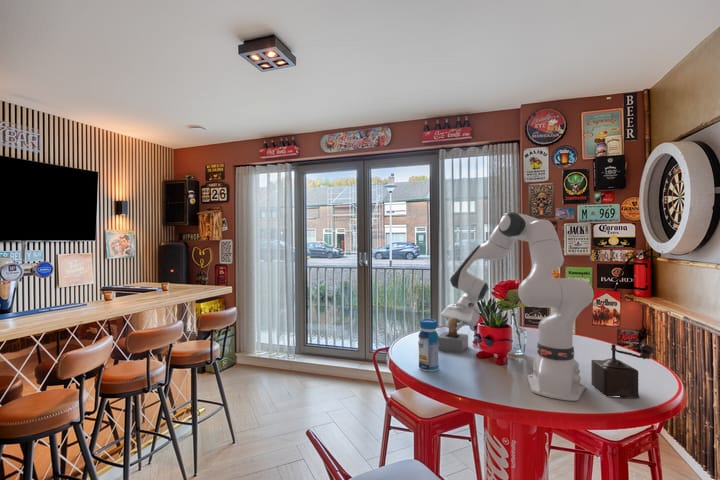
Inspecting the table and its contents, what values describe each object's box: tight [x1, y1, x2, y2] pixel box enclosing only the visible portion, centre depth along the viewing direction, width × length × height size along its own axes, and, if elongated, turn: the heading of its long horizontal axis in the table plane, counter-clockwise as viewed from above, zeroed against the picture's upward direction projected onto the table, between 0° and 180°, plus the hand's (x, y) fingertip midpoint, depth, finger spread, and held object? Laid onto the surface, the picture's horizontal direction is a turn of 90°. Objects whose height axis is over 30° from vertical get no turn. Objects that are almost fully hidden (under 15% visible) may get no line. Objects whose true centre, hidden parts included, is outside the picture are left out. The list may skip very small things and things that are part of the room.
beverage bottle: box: [417, 318, 440, 373], centre depth 147 cm, size 8×8×20 cm
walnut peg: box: [448, 318, 458, 338], centre depth 175 cm, size 4×4×12 cm
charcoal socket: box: [438, 331, 469, 354], centre depth 175 cm, size 12×12×6 cm
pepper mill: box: [590, 343, 655, 398], centre depth 123 cm, size 16×11×18 cm
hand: (452, 328), depth 174 cm, fingers closed on walnut peg, 4 cm apart
